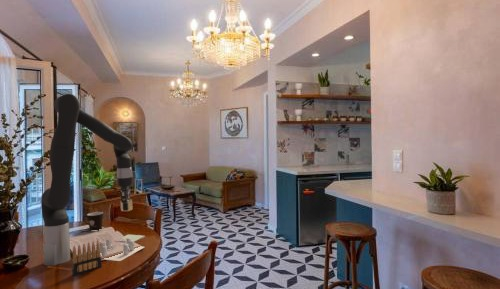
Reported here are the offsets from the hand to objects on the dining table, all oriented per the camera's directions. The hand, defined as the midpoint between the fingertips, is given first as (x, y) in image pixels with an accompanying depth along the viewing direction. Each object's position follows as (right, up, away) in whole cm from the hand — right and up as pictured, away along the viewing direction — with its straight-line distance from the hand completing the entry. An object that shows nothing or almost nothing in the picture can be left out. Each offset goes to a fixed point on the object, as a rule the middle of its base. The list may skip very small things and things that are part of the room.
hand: (126, 208), depth 160 cm
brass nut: (0, 0, 0) cm, 1 cm away
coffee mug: (-30, -18, +26) cm, 44 cm away
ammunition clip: (-3, -19, -33) cm, 38 cm away
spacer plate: (+1, -18, -13) cm, 23 cm away
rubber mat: (-1, -18, +6) cm, 19 cm away
